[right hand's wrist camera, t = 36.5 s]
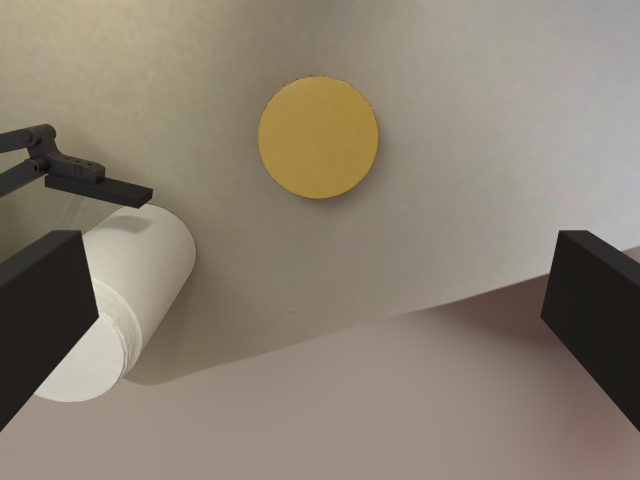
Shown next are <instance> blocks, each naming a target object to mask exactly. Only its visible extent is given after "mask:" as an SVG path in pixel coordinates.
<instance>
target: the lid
mask: <svg viewBox="0 0 640 480" xmlns="http://www.w3.org/2000/svg"><path fill="white" fill-rule="evenodd" d="M351 86H352V85H350V84H349V85H348V84H346V83H345V82H343V81H340V80H339V79H338V78H337V79H335V78H331V77H327V76H325V75H324V76H311V75H310V77H304V78H301V79H296V81H294V82H292V83H290V84H288V85H287V86H286V85H285V86H283V87H284V88H282V89H281V90H280V91H279V92H278V93H276V94H274V95H273V98H272V99H271V100H270V101H269V103H268V105H266V106H265V110H264V112H263V114H262V117H261V119H260V123H259V129H258V148H259V152H260V156H261V158H262V161H263V163H264V165H265V167H266V169H267V171H268V172H269V174H270V175H271V176H272V177H273V179H274V180H275V181H276V182H277V183H279V184H280V185H281V186H282V187H284V188H285V189H287V190H288V191H290V192H292V193H294V194H296V195H299V196H302V197H307V198H315V199H321V198H329V197H334V196H337V195H340V194H342V193H344V192H346V191H348V190H350V189H351V188H353V187H354V186H355V185H357V184H358V183H359V182H360V181H361V180H362V179H363V178H364V176H365V175H366V174H367V173H368V171H369V169H370V168H371V166H372V164H373V161H374V159H375V156H376V152H377V147H378V128H377V123H376V118H375V117H374V114H373V112H372V110H371V108H370V107H371V106H370V105H369V104H368V103H367V102H366V100H365V99H364V98H363V97H362V94H361V93H358V92H357V91H356V90H355V89H354V88H352V87H351Z"/></svg>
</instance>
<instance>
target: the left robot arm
mask: <svg viewBox="0 0 640 480" xmlns="http://www.w3.org/2000/svg"><path fill="white" fill-rule="evenodd" d="M55 137H56V131H55V129H54V128H53V127H52V126H51V125H49V124H43V125H38V126H34V127H29V128H25V129H20V130H16V131H11V132H7V133H3V134H0V153H4V152H9V151H13V150H18V149H22V148H27V150H28V153H29V155H30V158H29V159H26V160H24V162H22V163H20V164H19V165H17V166H15V167H13V168H11V169H9V170H7V171H6V172H4V173H2V174H0V198H1V197H3V196H5V195H7V194H9V193H11V192H13V191H14V190H16V189H18V188H20V187H22V186H24V185H26V184H28V183H30V182H31V181H33V180H35V179H37V178H39V177H41V176H43V175H45V174H49V175H47V176H45V187H49V188H53V189H57V190H61V191H66V192H70V193H74V194H78V195H82V196H86V197H90V198H95V199H99V200H103V201H107V202H111V203H115V204H119V205H124V206H128V207H132V208H136V209H139V208H140V207H142V206H143V205H144V204H145V203H147V202H148V201H149V200H150V199H152V193H153V189H151V188H147V187H142V186H138V185H134V184H130V183H126V182H122V181H118V180H114V179H110V178H106V177H105V167H103V166H102V165H100V164H99V163H95V162H90V161H87V160H83V159H79V158H75V157H71V156H67V155H64V154H62V153H61V152H60V151H59V150H58V149H57V147H56V144H55V141H54V139H55Z"/></svg>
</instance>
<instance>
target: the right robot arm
mask: <svg viewBox="0 0 640 480" xmlns="http://www.w3.org/2000/svg"><path fill="white" fill-rule="evenodd" d="M98 318H99V312H98V308H97V303H96V298H95V294H94V289H93V285H92V280H91V275H90V271H89V266H88V262H87V257H86V252H85V248H84V243H83V238H82V234H81V230H53V231H51V232H50V233H48V234H46V235H45V236H43V237H42V238H40V239H38V240H37V241H35V242H34V243H32V244H31V245H29V246H27V247H26V248H24V249H23V250H21V251H20V252H18V253H16V254H15V255H13V256H12V257H10V258H8V259H7V260H5V261H4V262H2V263H1V264H0V432H1V431H2V430H3V428H4V427H5V426H6V425H7V424H8V423H9V421H10V420H11V419H12V418H13V417H14V416H15V414H16V413H17V412H18V411H19V410H20V409H21V408H22V406H23V405H24V404H25V403H26V402H27V401H28V399H29V398H30V397H31V396H32V395H33V394H34V392H35V391H36V390H37V389H38V388H39V387H40V385H41V384H42V383H43V382H44V381H45V380H46V379H47V377H48V376H49V375H50V374H51V373H52V372H53V370H54V369H55V368H56V367H57V366H58V365H59V363H60V362H61V361H62V360H63V359H64V358H65V357H66V355H67V354H68V353H69V352H70V351H71V350H72V348H73V347H74V346H75V345H76V344H77V343H78V341H79V340H80V339H81V338H82V337H83V336H84V334H85V333H86V332H87V331H88V330H89V329H90V328H91V326H92V325H93V324H94V323H95V322H96V321H97V319H98ZM541 318H542V319H543V321H544V322H545V323H546V324H547V325H548V326H549V328H550V329H551V330H552V331H553V332H554V333H555V334H556V336H557V337H558V338H559V339H560V340H561V341H562V343H563V344H564V345H565V346H566V347H567V348H568V350H569V351H570V352H571V353H572V354H573V355H574V357H575V358H576V359H577V360H578V361H579V362H580V363H581V364H582V366H583V367H584V368H585V369H586V370H587V372H588V373H589V374H590V375H591V376H592V377H593V379H594V380H595V381H596V382H597V383H598V384H599V385H600V387H601V388H602V389H603V390H604V391H605V392H606V394H607V395H608V396H609V397H610V398H611V399H612V401H613V402H614V403H615V404H616V405H617V406H618V407H619V409H620V410H621V411H622V412H623V413H624V414H625V416H626V417H627V418H628V419H629V420H630V421H631V423H632V424H633V425H634V426H635V427H636V428H637V430H638V431H639V432H640V264H639V263H638V262H636V261H635V260H633V259H632V258H630V257H628V256H627V255H625V254H624V253H622V252H620V251H619V250H617V249H616V248H614V247H613V246H611V245H609V244H608V243H606V242H605V241H603V240H602V239H600V238H598V237H597V236H595V235H594V234H592V233H590V232H589V231H587V230H559V234H558V238H557V243H556V248H555V252H554V257H553V262H552V266H551V271H550V275H549V280H548V285H547V289H546V294H545V298H544V303H543V308H542V312H541Z"/></svg>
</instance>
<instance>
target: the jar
mask: <svg viewBox="0 0 640 480" xmlns="http://www.w3.org/2000/svg"><path fill="white" fill-rule="evenodd" d="M82 238H83V243H84V248H85V252H86V257H87V262H88V266H89V271H90V275H91V280H92V285H93V289H94V294H95V298H96V303H97V308H98V312H99V318H98V319H97V321H96V322H95V323H94V324H93V325H92V326H91V328H90V329H89V330H88V331H87V332H86V333H85V334H84V336H83V337H82V338H81V339H80V340H79V341H78V343H77V344H76V345H75V346H74V347H73V348H72V350H71V351H70V352H69V353H68V354H67V355H66V357H65V358H64V359H63V360H62V361H61V362H60V363H59V365H58V366H57V367H56V368H55V369H54V370H53V372H52V373H51V374H50V375H49V376H48V377H47V379H46V380H45V381H44V382H43V383H42V384H41V385H40V387H39V388H38V389H37V390H36V391H35V392H34V395H37V396H39V397H42V398H45V399H48V400H53V401H59V402H82V401H86V400H90V399H93V398H96V397H98V396H100V395H102V394H104V393H105V392H107V391H108V390H110V389H112V388H113V387H114V386H115V385H116V384H117V383H118V382H119V381H120V379H122V377H123V376H124V375H125V374H127V373H128V372H129V371H130V370H131V369H132V368H133V366H134V365H135V364H136V362H137V360H138V359H139V357H140V355H141V354H142V352H143V351H144V349H145V347H146V346H147V344H148V342H149V341H150V339H151V337H152V336H153V334H154V333H155V331H156V329H157V328H158V326H159V324H160V323H161V321H162V319H163V318H164V316H165V315H166V313H167V311H168V310H169V308H170V306H171V305H172V303H173V301H174V300H175V298H176V296H177V295H178V293H179V292H180V290H181V288H182V287H183V285H184V283H185V282H186V280H187V278H188V277H189V275H190V274H191V272H192V270H193V268H194V265H195V260H196V247H195V243H194V240H193V237H192V235H191V233H190V231H189V229H188V228H187V227H186V225H185V224H184V223H183V222H182V221H181V220H180V219H179V218H178V217H177V216H175V215H174V214H173V213H171V212H169V211H168V210H166V209H163V208H161V207H158V206H155V205H150V204H144V205H143V206H142V207H140V208H139V209H136V208H132V207H128V206H125V207H122V208H120V209H118V210H117V211H115V212H114V213H112V214H111V215H110V216H108V217H107V218H106V219H104V220H103V221H102V222H100V223H99V224H97V225H96V226H95V227H93V228H92V229H91V230H89V231H88V232H86V233H85V234H84V235H82Z"/></svg>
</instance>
